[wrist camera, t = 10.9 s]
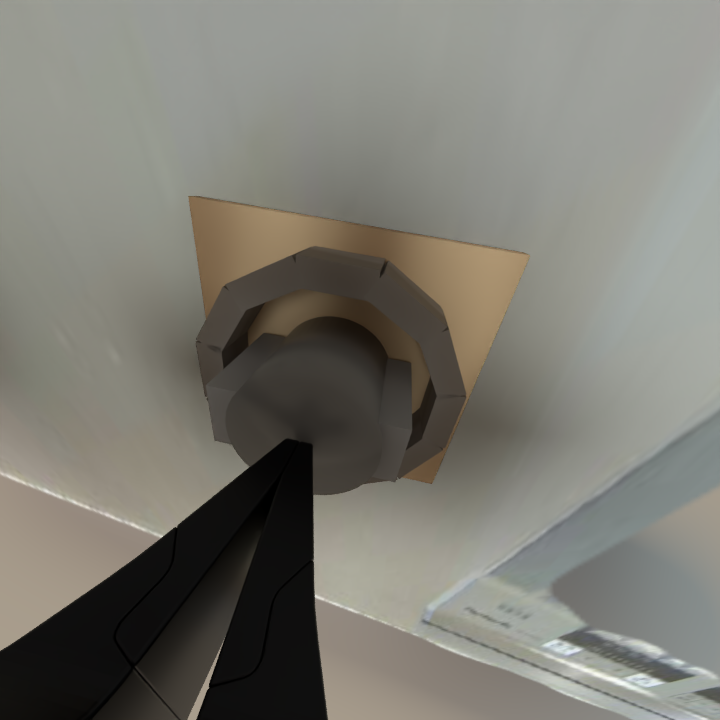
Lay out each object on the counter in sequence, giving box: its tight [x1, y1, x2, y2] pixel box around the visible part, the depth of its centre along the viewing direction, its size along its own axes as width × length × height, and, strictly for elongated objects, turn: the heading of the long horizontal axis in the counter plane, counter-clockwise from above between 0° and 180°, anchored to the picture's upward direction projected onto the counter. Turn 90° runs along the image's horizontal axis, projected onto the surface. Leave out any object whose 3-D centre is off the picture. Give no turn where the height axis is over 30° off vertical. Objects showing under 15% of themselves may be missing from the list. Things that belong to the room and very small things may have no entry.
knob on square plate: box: [188, 196, 530, 484], centre depth 12 cm, size 12×12×3 cm
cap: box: [206, 316, 412, 495], centre depth 11 cm, size 6×5×4 cm
